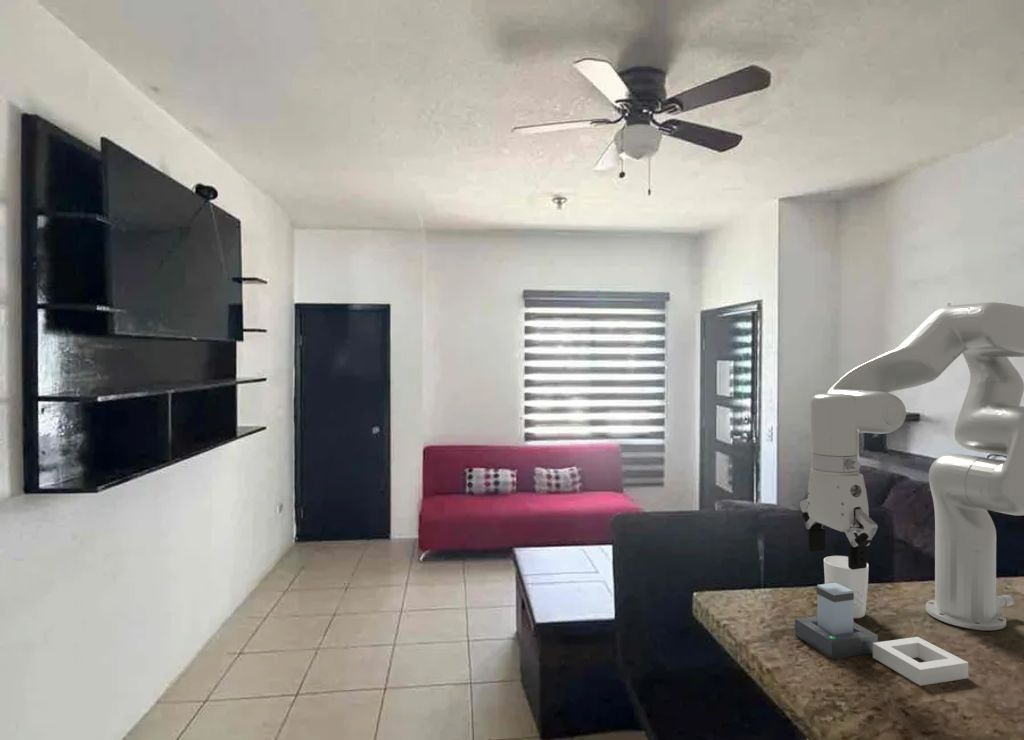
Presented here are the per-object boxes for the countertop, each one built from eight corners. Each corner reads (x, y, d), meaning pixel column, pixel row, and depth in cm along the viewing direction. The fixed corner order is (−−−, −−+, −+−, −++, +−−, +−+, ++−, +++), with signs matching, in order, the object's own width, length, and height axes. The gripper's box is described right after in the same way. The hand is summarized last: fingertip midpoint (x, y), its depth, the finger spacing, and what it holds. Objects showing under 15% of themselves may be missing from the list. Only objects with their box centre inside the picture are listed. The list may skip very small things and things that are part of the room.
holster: (917, 651, 105) (917, 636, 105) (968, 678, 96) (968, 662, 96) (872, 657, 103) (872, 642, 103) (920, 685, 94) (920, 669, 94)
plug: (835, 636, 111) (835, 582, 111) (853, 647, 107) (853, 590, 107) (817, 639, 110) (816, 584, 110) (834, 650, 106) (834, 593, 106)
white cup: (866, 607, 124) (866, 558, 124) (870, 622, 117) (870, 571, 117) (822, 601, 127) (822, 553, 127) (824, 616, 120) (824, 565, 120)
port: (837, 629, 114) (837, 612, 114) (877, 652, 105) (877, 633, 105) (795, 634, 112) (795, 617, 112) (831, 658, 103) (831, 640, 103)
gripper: (893, 470, 100) (894, 573, 101) (818, 454, 117) (819, 542, 118) (854, 473, 99) (856, 578, 99) (784, 457, 116) (785, 546, 116)
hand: (836, 559), depth 108 cm, fingers open, 9 cm apart
